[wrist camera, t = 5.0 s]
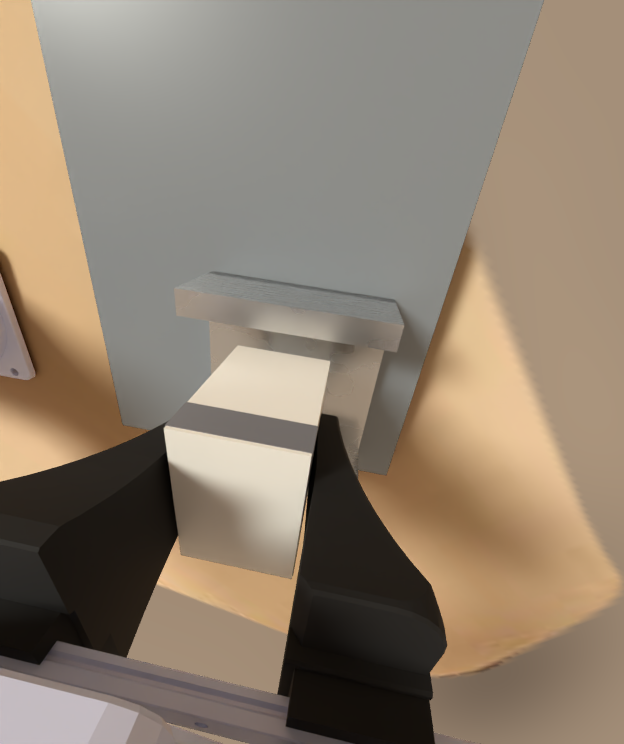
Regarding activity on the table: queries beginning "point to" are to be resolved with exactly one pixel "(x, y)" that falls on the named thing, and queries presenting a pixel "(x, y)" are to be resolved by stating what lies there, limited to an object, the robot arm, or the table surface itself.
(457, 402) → the table surface
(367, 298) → the end holder
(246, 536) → the block
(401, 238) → the board
